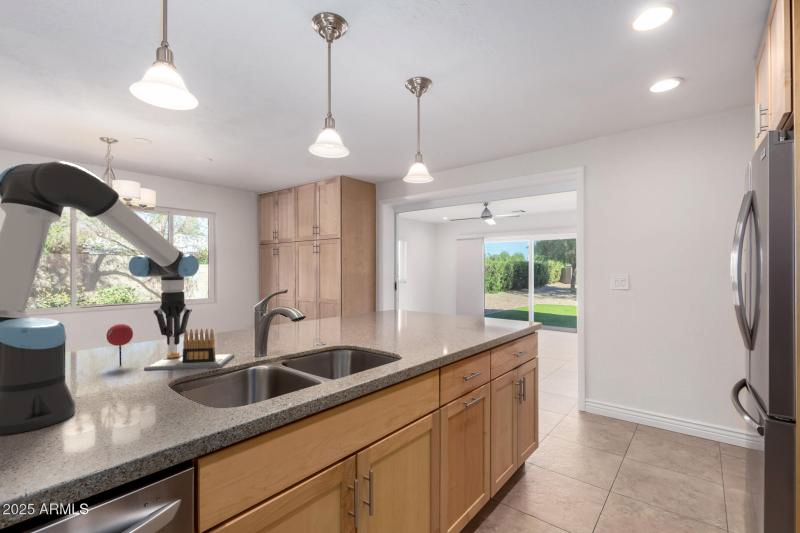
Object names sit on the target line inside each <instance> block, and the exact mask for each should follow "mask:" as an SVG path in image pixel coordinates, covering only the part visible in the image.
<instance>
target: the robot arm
mask: <svg viewBox="0 0 800 533" xmlns="http://www.w3.org/2000/svg"><path fill="white" fill-rule="evenodd" d="M0 199H1V201H0V208H1V209H2V211H3V212H4V213H5V216H4V220H3V222H2V226H1V229H0V436H2V435H12V434H19V433H26V432H29V431H30V432H31V431H34V430H38V429H42V428H46V427H49V426H51V425H52V426H53V425H55V424H58V423H61V422H63V421H65V420H67V419H70V418H72V416H74V415H75V414H76V402H75V400H74V399H73V396H72V393H71V391H70V389H69V386H68V385H67V383H66V340H67V334H66V327H65V324H64V323H63V322H61V321H60V320H56V319H52V318H45V317H44V318H42V317H40V318H36V317H31V316H30V315H28V313H27V312H26V310H27V307H28V304H29V300H30V296H31V293H32V290H33V286H34V283H35V280H36V276H37V274H38V269H39V265H40V262H41V258H42V255H43V253H44V249H45V245H46V241H47V239H48V235H49V231H50V228H51V225H52V224H53V223H56V222H58V221H60V220H61V217H62V214H63V211H64V208H72V209H75V210H78V211H79V212H81V213H83V214H84V215H86V216H87V217H89V218H96V219H98V220H99V221H100V222H102V223H103V224H104V225H105V226H107V227H108V228H110V229H111V230H112V231H114V233H116V234H117V235H119V236H120V237H122V238H123V239H124V240H126V242H128V243H130V244H131V245H132V246H134V247H135V248H136V249H137V250H139V251H140V252H142V253H143V254H142V255H139V254H138V255H134V256H132V257H131V258H130V260H129V261H128V270H129V272H130V274H131V275H132V276H134V277H136V278H148V277H149V278H150V277H153V278H154V277H156V278H157V277H158V278H159V277H160V284H161V285H160V286H161V287H160V291H161V293H160V294H161V295H160V296H161V298H160V299H161V300H160V301H161V304H160V307H159V308H157V309H155V310H153V314H154V315H155V316H156V319H157V323H158V327H159V331H160V333H161V334H160V335H161V336H165V337H166V344H167V346H169V353H170V354H175V353H178V345H179V344H180V338H181V337H180V336H181V335H184V332H185V330H187V327H188V323H189V317H190V315H191V313H192V312H193V309H192V308H189V307H187V306H186V303H185V292H184V290H185V277H193V276H195V275H197V273H198V271H199V269H200V268H199V267H200V262H199V260H198V258H197V257H196V256H195V255H191V254H184V252H183V251H181V250H179V249H178V248H176V247H175V246H174V245H173V244H172V243H171V242H169V241H168V240H167V239H166V238H165V237H164V236H162V235H161V234H160V233H159V232H158V231H157V230H155V228H153V227H152V226H151V225H150V224H149V223H147V222H146V221H145V220H144V219H143V218H142V217H140V216H139V215H138V214H137V213H136V212H134V210H132V209H131V208H130V207H129V206H127V204H125V203H124V202H123V201H122V200H121V199H120V194H119V193H118V192H117V191H116V190H115V189H114V188H112V186H110V185H109V184H108V183H106V182H105V181H104V180H103V179H101V178H99V177H98V176H97V175H95V174H93V173H92V172H91V171H88V170H87V169H85V168H83V167H81V166H78V165H76V164H73V163H70V162H66V161H49V162H41V163H23V164H22V163H21V164H18V165H14V166H11V167H8V168H6V169H5V170H3V171H2V172H1V173H0ZM163 313H164V314H165V317H164V315H163ZM182 313H183V315H182V319H181V314H182ZM165 319H166V320H165Z"/></svg>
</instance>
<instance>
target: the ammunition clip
mask: <svg viewBox="0 0 800 533" xmlns="http://www.w3.org/2000/svg"><path fill="white" fill-rule="evenodd" d="M193 332H194V333H193ZM215 354H216V347H215V336H214V330H213V328H211V329H210V333H209V329H208V328H206V329H205V331H204V330H203V328H200V332H198V329H197V328H196V329H195V331H193V329H190V330H189V333H188V329H186V330H185V332H184V334H183V349H182V355H183V360H182V363H200V362H214V361H215V360H216V358H215Z"/></svg>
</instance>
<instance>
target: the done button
mask: <svg viewBox="0 0 800 533" xmlns="http://www.w3.org/2000/svg"><path fill="white" fill-rule="evenodd" d="M166 356H167V358H177V357H179V356H180V352H177V353H175V354H170V352H169V353H167V354H166Z"/></svg>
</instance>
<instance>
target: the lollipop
mask: <svg viewBox="0 0 800 533" xmlns="http://www.w3.org/2000/svg"><path fill="white" fill-rule="evenodd" d="M133 336H134V332H133V328H132V327H131V326H129V325H127V324H124V323H118V324H115V325H112V326H111V327H110V328H108V330H107V332H106V340H107V342H108V343H109V344H111V346H114V347H115V346H117V347H119V348H118V349H119V350H118V351H119V355H118V356H119V365H121V366H122V346H125V345H127V344H128V343H129V342H131V341H132V339H133Z"/></svg>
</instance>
